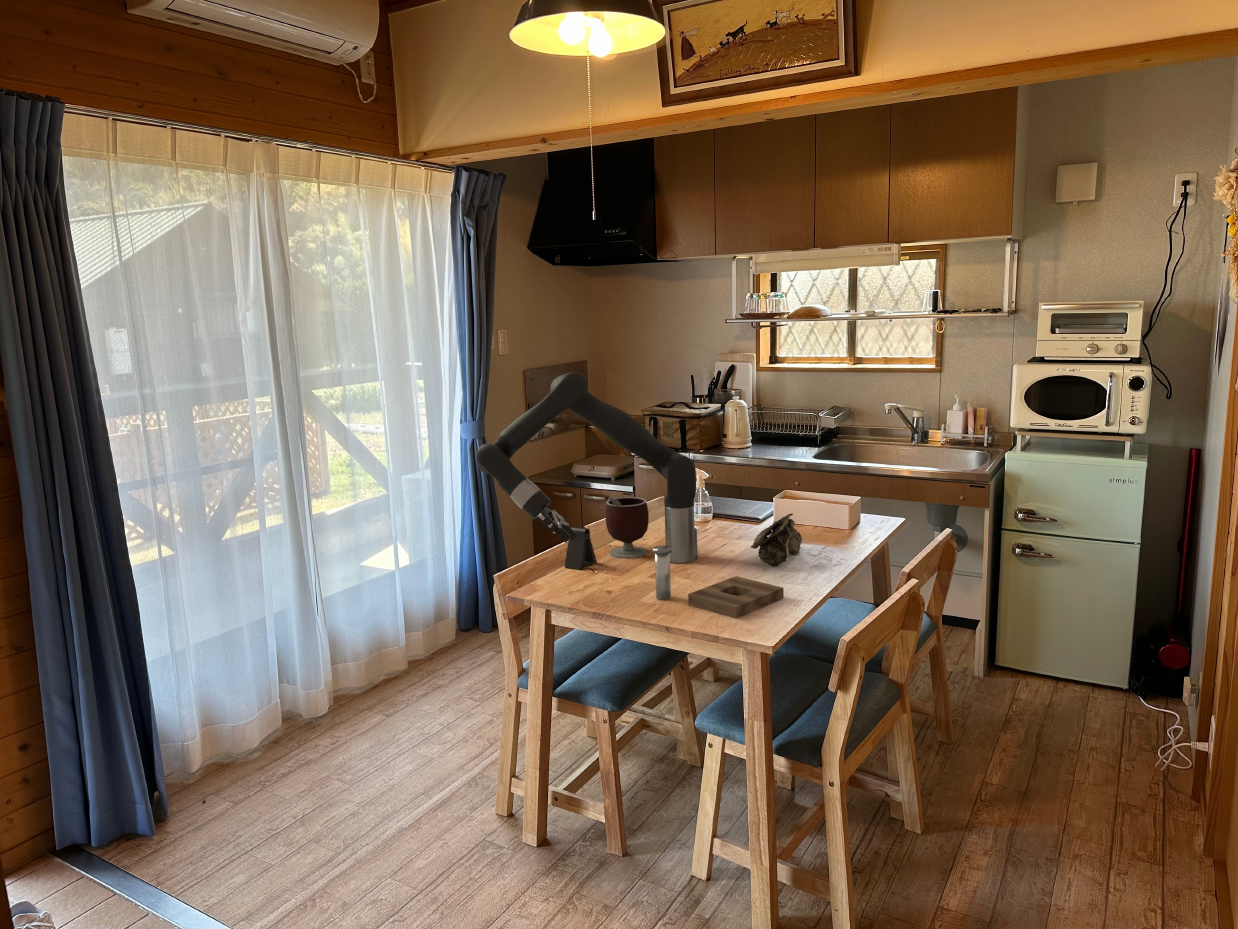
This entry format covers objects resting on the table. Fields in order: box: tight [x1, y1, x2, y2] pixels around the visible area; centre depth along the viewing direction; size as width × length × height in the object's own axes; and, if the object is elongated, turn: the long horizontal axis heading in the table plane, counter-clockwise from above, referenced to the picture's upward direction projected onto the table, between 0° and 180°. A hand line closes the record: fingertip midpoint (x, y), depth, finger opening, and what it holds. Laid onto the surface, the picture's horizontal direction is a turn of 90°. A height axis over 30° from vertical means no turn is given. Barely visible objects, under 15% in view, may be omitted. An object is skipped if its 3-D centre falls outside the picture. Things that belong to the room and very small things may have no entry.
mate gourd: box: [604, 496, 650, 559], centre depth 275 cm, size 16×14×20 cm
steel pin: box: [651, 544, 672, 601], centre depth 232 cm, size 5×5×14 cm
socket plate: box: [687, 575, 785, 620], centre depth 227 cm, size 20×16×3 cm
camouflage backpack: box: [750, 512, 803, 568], centre depth 264 cm, size 28×13×15 cm
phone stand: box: [564, 526, 598, 571], centre depth 265 cm, size 9×6×12 cm, turn 147°
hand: (571, 539), depth 238 cm, fingers open, 8 cm apart
